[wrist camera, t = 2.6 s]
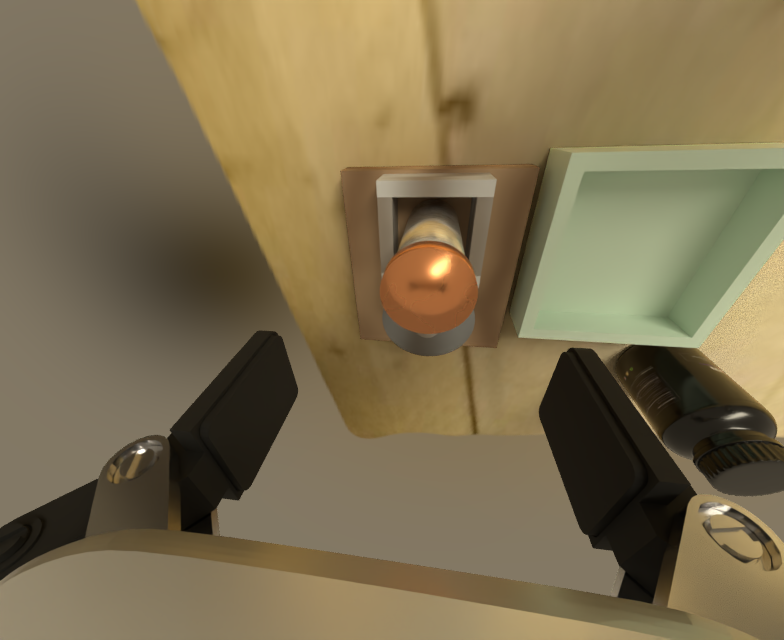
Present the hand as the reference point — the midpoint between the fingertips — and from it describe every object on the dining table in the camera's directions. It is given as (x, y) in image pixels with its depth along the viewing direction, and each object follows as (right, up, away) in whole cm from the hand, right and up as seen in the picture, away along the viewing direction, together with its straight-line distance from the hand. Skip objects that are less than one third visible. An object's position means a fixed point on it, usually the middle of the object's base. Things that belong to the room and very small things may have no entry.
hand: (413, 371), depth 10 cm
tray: (+18, +8, +13) cm, 23 cm away
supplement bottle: (+26, -2, +19) cm, 32 cm away
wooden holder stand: (+3, +7, +16) cm, 18 cm away
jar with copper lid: (+2, +9, +12) cm, 16 cm away
